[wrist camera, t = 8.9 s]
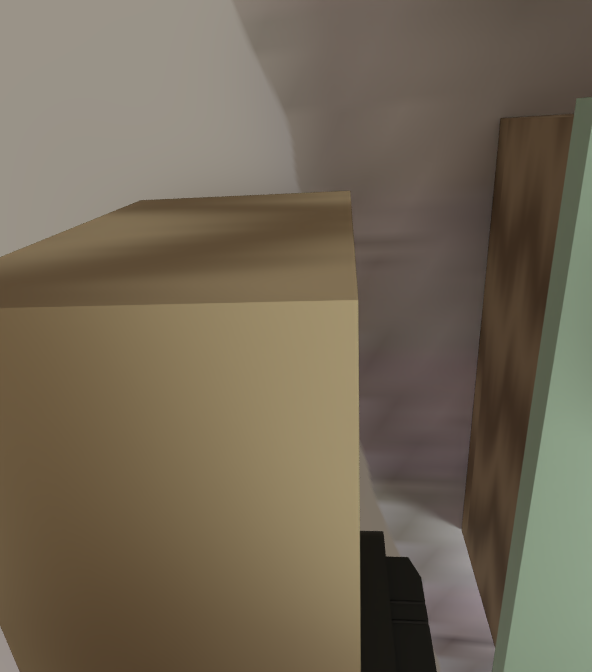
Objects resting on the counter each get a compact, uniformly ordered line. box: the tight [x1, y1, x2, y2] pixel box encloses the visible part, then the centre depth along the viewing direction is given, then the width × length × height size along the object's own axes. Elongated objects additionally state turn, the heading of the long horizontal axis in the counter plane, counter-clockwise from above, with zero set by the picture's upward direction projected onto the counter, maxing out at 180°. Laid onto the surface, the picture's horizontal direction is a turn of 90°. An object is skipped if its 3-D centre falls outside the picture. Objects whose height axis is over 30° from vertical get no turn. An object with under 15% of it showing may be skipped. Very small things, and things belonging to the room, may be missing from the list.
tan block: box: [0, 191, 361, 672], centre depth 10 cm, size 4×16×6 cm, turn 3°
